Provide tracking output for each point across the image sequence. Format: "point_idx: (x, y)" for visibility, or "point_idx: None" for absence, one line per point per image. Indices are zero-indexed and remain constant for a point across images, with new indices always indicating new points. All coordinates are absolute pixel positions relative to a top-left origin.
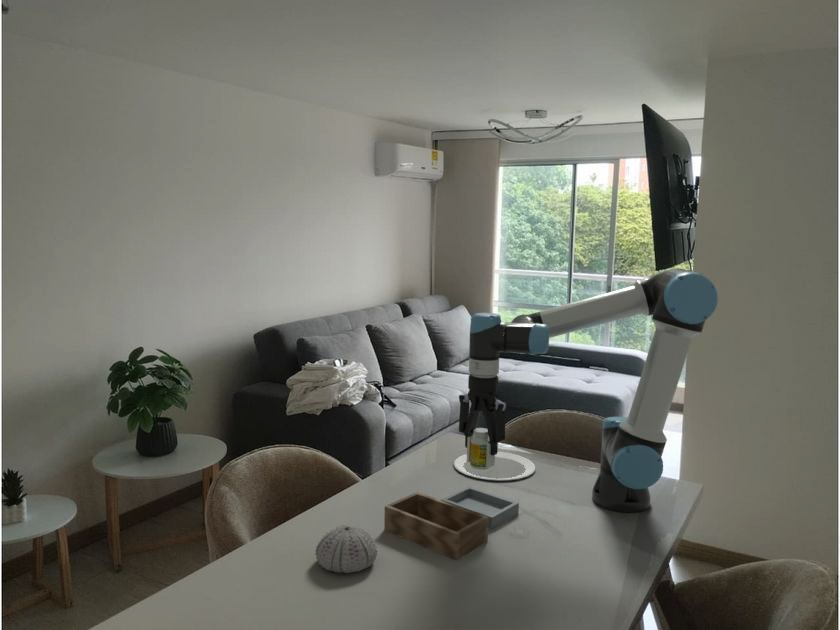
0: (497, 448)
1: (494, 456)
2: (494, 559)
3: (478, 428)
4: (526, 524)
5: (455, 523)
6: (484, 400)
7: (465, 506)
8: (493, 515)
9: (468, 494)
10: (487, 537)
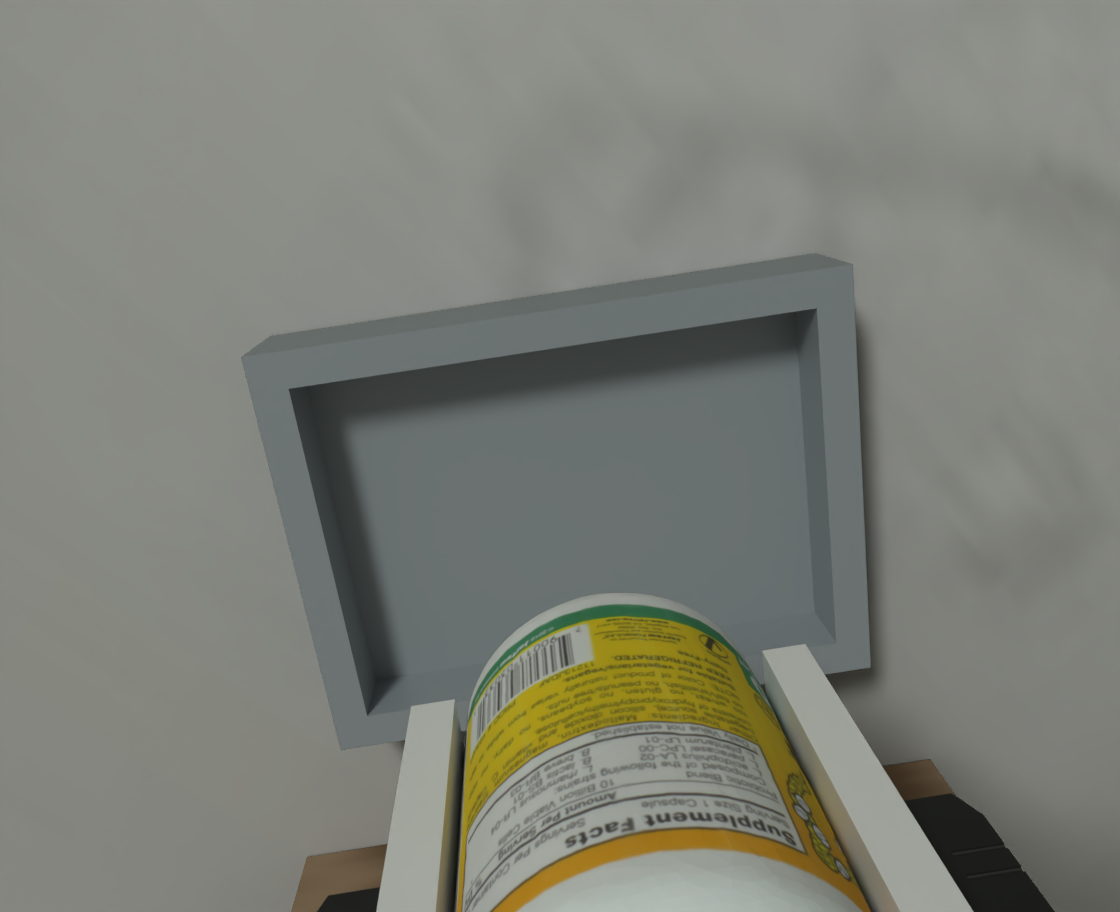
0: (1025, 876)
1: (855, 734)
2: (1092, 867)
3: None
4: (978, 355)
5: None
6: None
7: None
8: (854, 633)
9: (305, 390)
10: (943, 781)
